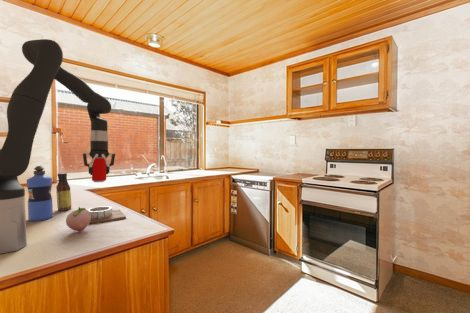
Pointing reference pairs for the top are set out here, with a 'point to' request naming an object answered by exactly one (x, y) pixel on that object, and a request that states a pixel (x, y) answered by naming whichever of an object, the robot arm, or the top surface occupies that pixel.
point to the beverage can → (99, 170)
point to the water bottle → (39, 196)
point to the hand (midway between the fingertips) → (99, 174)
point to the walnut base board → (115, 216)
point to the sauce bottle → (63, 193)
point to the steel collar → (100, 212)
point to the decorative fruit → (78, 219)
